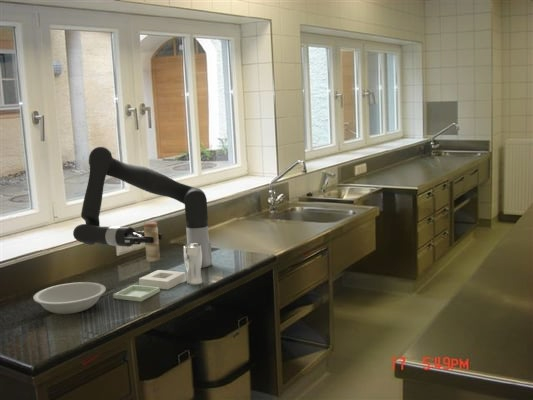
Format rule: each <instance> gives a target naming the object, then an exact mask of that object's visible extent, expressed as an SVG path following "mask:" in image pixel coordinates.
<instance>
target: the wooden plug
mask: <svg viewBox="0 0 533 400" xmlns="http://www.w3.org/2000/svg"><path fill="white" fill-rule="evenodd" d="M143 232H144V234H145V237H154V243H144V244H145V256H146V261H147V262H151V263H152V262H158V261H160V260H161V255H160V253H161V252H160V240H159V239H158V234H159V228H158V222H156V221H149V222H144V223H143Z"/></svg>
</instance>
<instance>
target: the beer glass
mask: <svg viewBox="0 0 533 400" xmlns="http://www.w3.org/2000/svg"><path fill="white" fill-rule="evenodd" d="M183 261H184V266H185V269H186V284H187V285H188V284H189V286H197V285H200V284H202V283H203V279H202V274H201V273H202V268H201V265H202V251H201V245H200V244H197V243H193V244H186V243H185V245H183Z"/></svg>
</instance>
